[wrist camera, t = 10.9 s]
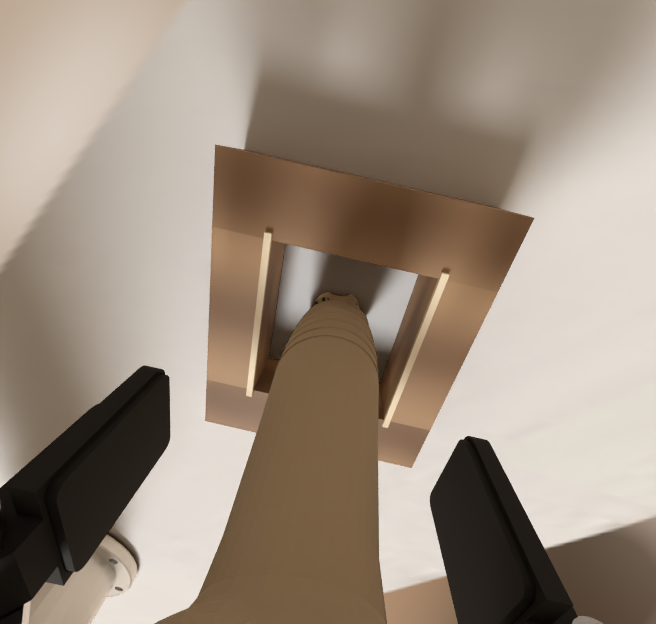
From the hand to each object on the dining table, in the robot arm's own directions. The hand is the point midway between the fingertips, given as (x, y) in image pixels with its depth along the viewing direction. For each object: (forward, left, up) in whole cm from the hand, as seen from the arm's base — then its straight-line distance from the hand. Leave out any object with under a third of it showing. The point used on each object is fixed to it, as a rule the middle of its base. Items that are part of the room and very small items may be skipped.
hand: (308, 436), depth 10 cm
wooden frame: (+1, 0, -8) cm, 8 cm away
